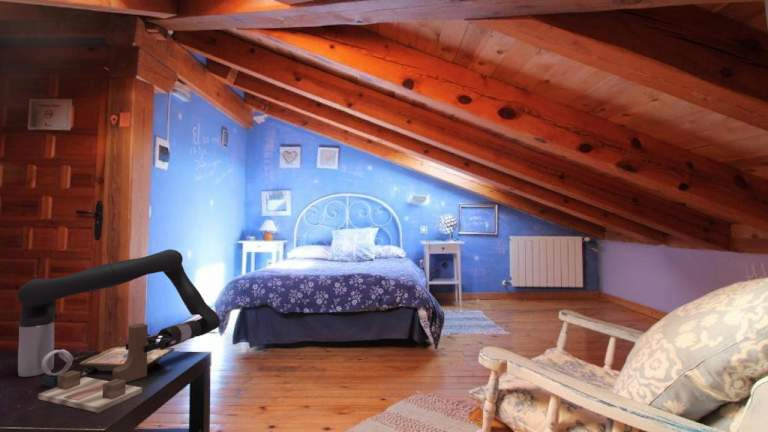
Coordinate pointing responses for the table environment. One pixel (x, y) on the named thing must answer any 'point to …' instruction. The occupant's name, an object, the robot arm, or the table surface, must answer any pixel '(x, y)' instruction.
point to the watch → (52, 378)
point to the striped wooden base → (89, 392)
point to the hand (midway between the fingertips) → (135, 348)
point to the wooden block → (134, 355)
